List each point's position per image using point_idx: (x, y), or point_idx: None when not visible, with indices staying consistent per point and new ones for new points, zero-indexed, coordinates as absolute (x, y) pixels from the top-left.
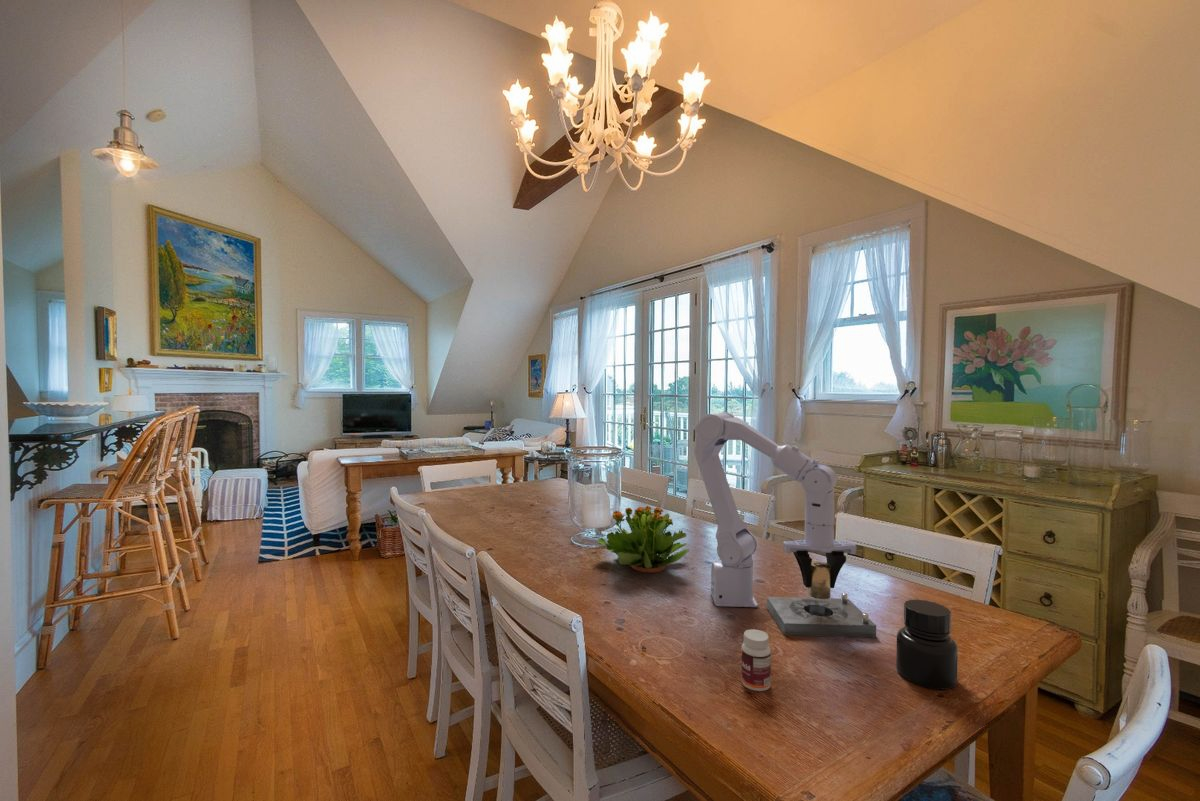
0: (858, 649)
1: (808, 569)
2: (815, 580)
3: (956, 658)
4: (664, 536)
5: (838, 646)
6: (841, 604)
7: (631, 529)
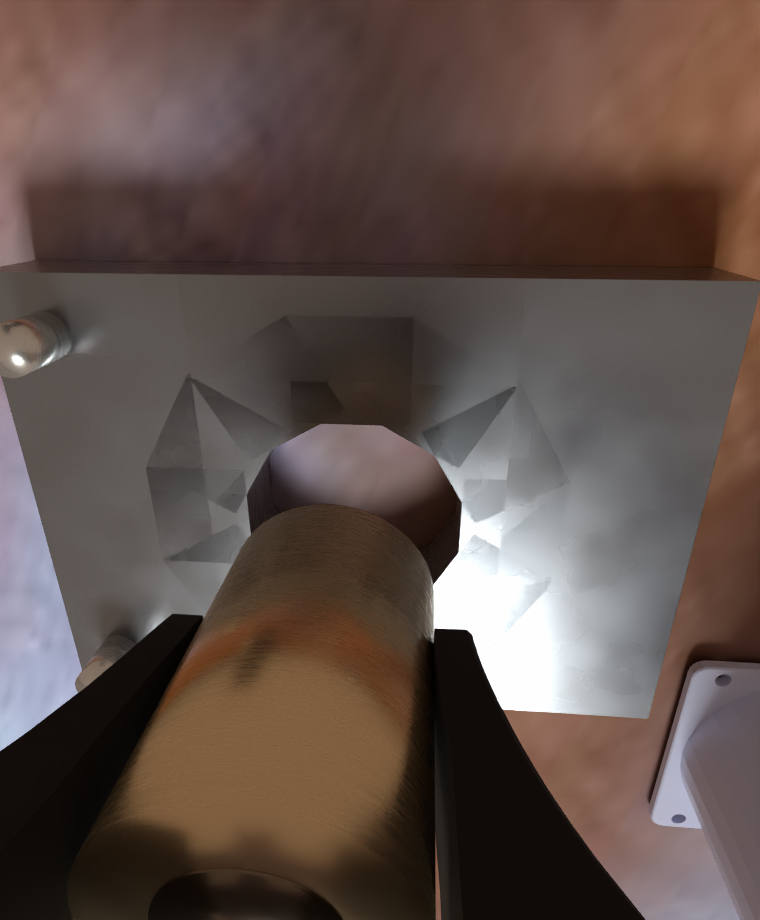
0: (212, 44)
1: (492, 821)
2: (384, 659)
3: None
4: None
5: (355, 89)
6: (152, 609)
7: None
